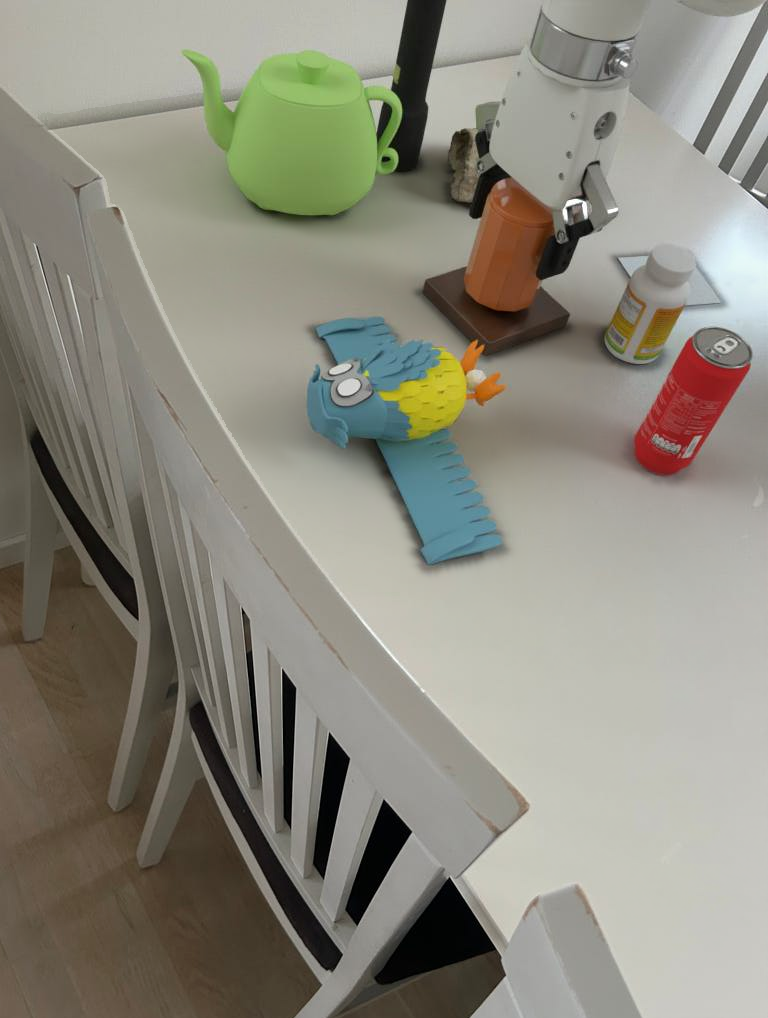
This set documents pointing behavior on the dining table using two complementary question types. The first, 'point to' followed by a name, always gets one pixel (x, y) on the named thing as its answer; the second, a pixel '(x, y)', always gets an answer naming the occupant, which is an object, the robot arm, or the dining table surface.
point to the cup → (508, 248)
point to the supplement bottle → (651, 305)
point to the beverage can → (692, 399)
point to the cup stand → (492, 314)
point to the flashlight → (413, 79)
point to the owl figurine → (408, 424)
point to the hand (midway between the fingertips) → (515, 243)
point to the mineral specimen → (465, 165)
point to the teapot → (301, 132)
